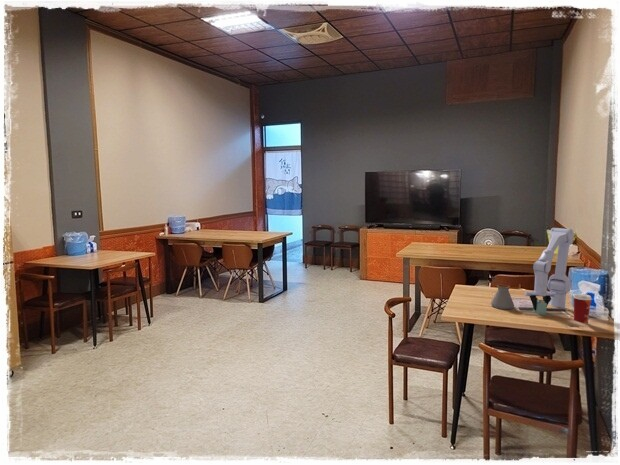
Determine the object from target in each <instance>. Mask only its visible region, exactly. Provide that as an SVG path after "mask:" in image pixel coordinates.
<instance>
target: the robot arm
mask: <svg viewBox="0 0 620 465" xmlns="http://www.w3.org/2000/svg"><path fill="white" fill-rule="evenodd" d="M574 237H575V233H574V230H573V229H572V228H560V227H552V228H551V229H550V230H549V238H550V239H549V240H550V241H549V243H548V245H547V247H546V248H545V249H543V251H542V253H541V255H540V257H539V258H538V260H536V261H535V262H534V263H533V267H532V269H533V274H534V287H533V288H534V290H533V291H524V296H525V297H529V299H530V301H531V304H532V307H533V309H534V310H536V305H537V299H538V298H539V297H542V300H543V301H544V302H546V303H547V306H548V305H549V306H551V307H552V308H565V309H566V311H569V309H568V308H567V307H566V303H567V302H566V301H567V294H568V293H570V292H571V287H572V285H571V279H570V278H569V277H568V276H567V275H566V272H567V265H568V264H567V263H568V257H569V251H570V246H571V245H573V243H574ZM557 248H558V249H557ZM556 250H557V254H555V251H556ZM555 256H556V257H557V258H556V262H555V263H556V264H555V269H554V274H552V275H550V276H549V272H550V271H551V269H552V268H551V267H552V262H553V259H554V258H555ZM548 277H549V278H548ZM548 290H549V291H548Z"/></svg>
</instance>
